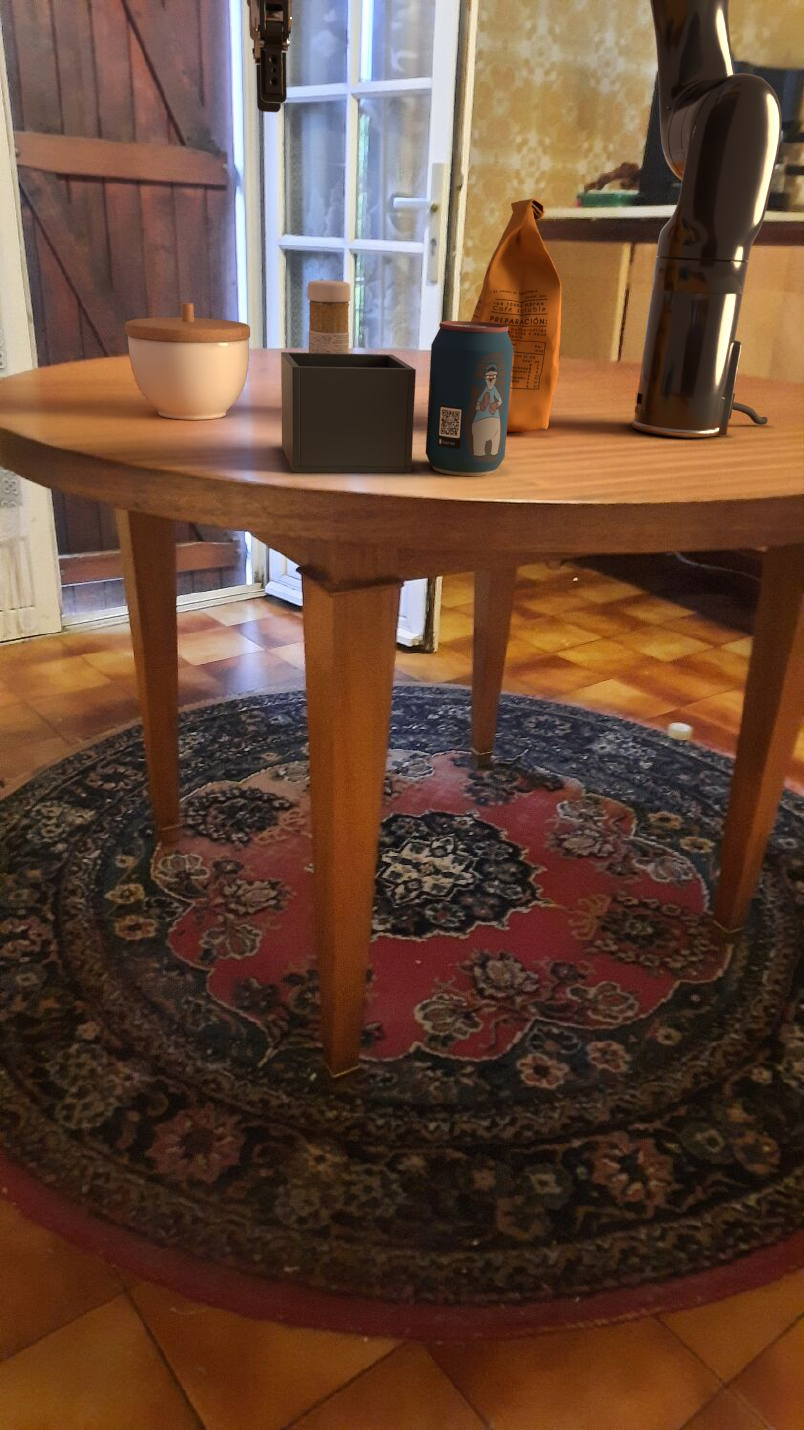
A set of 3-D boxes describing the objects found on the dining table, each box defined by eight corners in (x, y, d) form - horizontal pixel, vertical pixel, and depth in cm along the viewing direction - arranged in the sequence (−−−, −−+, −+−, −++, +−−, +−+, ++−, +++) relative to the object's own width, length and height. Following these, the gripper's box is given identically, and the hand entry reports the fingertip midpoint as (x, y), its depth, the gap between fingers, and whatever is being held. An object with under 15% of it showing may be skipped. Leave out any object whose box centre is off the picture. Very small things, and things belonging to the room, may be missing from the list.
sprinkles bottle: (332, 406, 117) (333, 280, 112) (356, 412, 114) (359, 282, 108) (299, 409, 115) (299, 279, 109) (323, 415, 112) (324, 282, 106)
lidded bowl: (127, 405, 112) (119, 297, 108) (241, 404, 116) (238, 300, 111) (136, 425, 102) (128, 307, 97) (261, 424, 105) (259, 309, 101)
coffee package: (546, 419, 115) (568, 202, 106) (554, 440, 104) (580, 199, 95) (458, 414, 116) (473, 198, 106) (457, 434, 105) (473, 194, 95)
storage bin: (389, 448, 97) (392, 354, 93) (411, 472, 88) (416, 369, 84) (281, 448, 95) (280, 352, 91) (293, 473, 86) (292, 367, 82)
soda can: (447, 457, 94) (456, 318, 89) (516, 468, 91) (528, 325, 86) (410, 470, 89) (417, 323, 83) (482, 481, 86) (493, 330, 80)
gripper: (320, -138, 80) (319, 102, 87) (305, -90, 92) (306, 117, 99) (223, -148, 78) (230, 97, 86) (221, -98, 91) (228, 112, 98)
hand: (271, 107), depth 92 cm, fingers open, 8 cm apart
